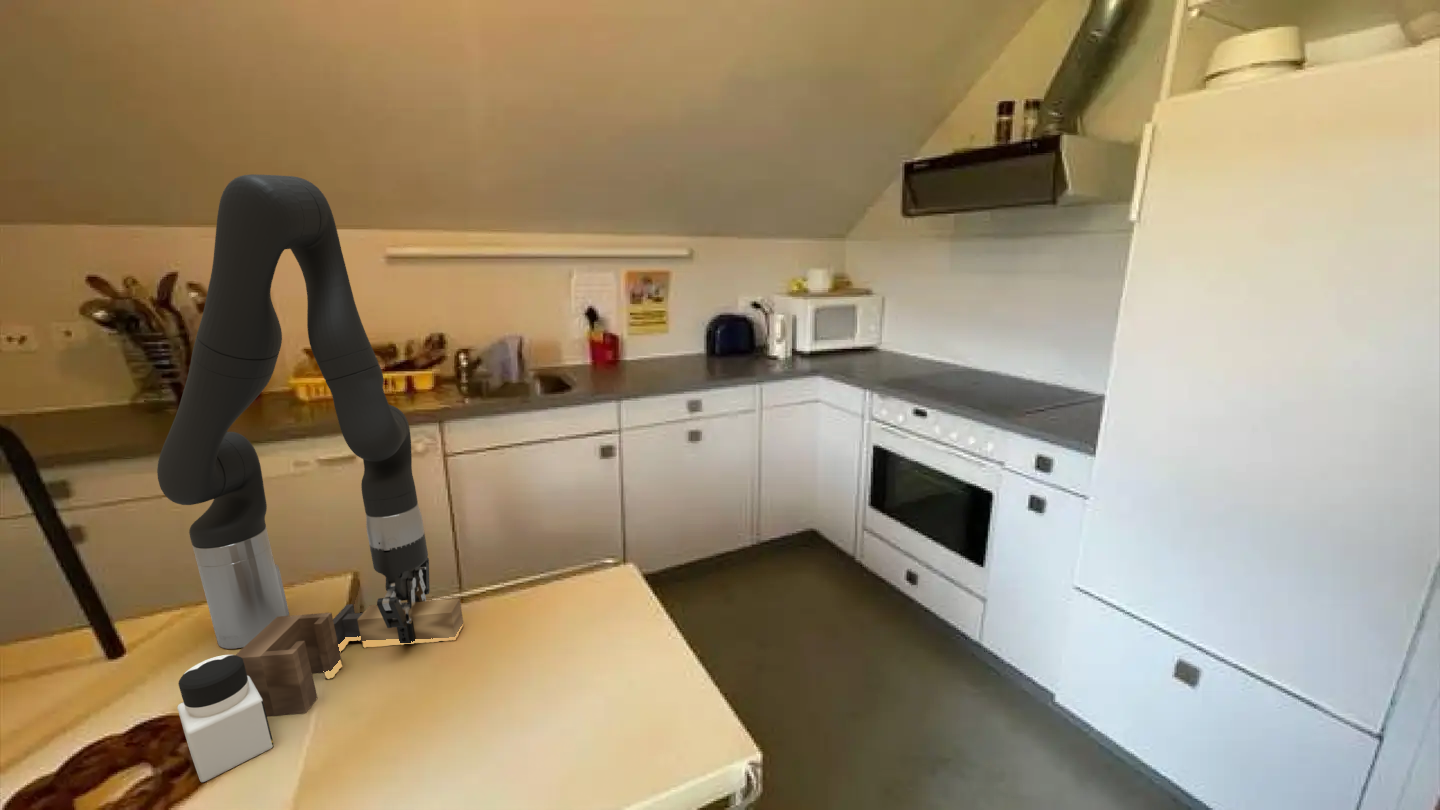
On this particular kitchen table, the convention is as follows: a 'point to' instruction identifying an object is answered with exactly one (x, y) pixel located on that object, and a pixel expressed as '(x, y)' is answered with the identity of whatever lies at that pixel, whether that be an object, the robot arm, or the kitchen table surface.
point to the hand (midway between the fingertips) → (414, 634)
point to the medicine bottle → (222, 715)
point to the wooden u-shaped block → (291, 660)
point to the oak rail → (426, 615)
